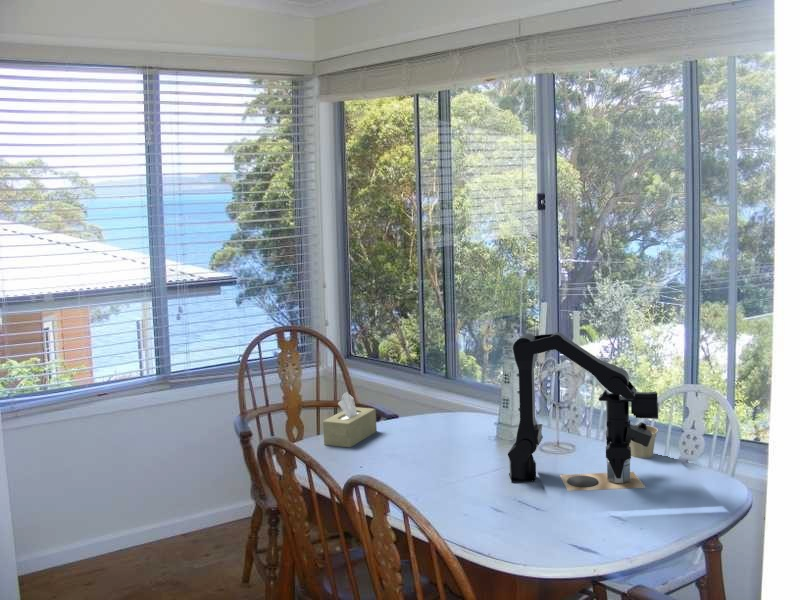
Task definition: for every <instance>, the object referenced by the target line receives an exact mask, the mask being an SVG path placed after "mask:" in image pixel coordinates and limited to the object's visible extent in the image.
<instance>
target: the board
mask: <svg viewBox="0 0 800 600" xmlns="http://www.w3.org/2000/svg"><path fill="white" fill-rule="evenodd" d="M559 477H560V478H561V481H562V482H563V484H564V486H565V488H566V489H567V492H577V491H579V492H580V491H600V490H602V491H603V490H604V491H605V490H622V489H623V490H624V489H643V488H644V489H645V488H646V486H645V484H644V483H643V482H642V481H641V479H640V478H639V477H638V475H636V473H635V472H634V471H630V481H629V482H625V483H614V482H611V481H608V480H607V472H597V473H595V472H594V473H579V474H578V473H577V474H576V473H574V474H572V473H571V474H559Z"/></svg>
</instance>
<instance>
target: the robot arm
mask: <svg viewBox="0 0 800 600" xmlns="http://www.w3.org/2000/svg"><path fill="white" fill-rule="evenodd" d="M512 350H513V356H514V361H515V364H516V367H517V370H518V390H519V391H518V394H519V395H518V397H519V401H518V402H519V424H518V428H517V432H516V438H515V443H513V445H512V446H511V448H510V450H509V451H508V453H507V456H508V459H509V473H508V476H509V479H510V481H511V483H525V482H527V483H528V482H536V477H537V463H536V461H535V459H534V456H533V454H534V453H535V452H536V451H537V448H538V447H539V445H540V444H541V442H542V440H543V439H544V436H543V434H542V430H543V424H542V423H540V424H539V423H537V419H536V397H535V396H536V395H535V365H536V361H537V357H538V354H542V353H545V352H549V351H557V352H558V353H560V354H561V355H563V356H564V357H566V358H567V359H569V360H570V361H572V362H573V363H575V364H576V365H578V366H580V367H581V368H583V370H586V371H587V372H588V373H590V374H591V375H593V376H594V378H595V379H597V381H598V382H599V384H600V385H602V386H603V387H604V388H605V390H603V392H602V393H601V394H599V397H598V401H600V402H602V401H603V402H605V404H606V406H605V407H606V431H605V439H606V446H605V459H607V458H608V460H609V463H610V465H611V467H612V469H613V471H614V474H615V476H616V478H621V475H622V470H623V466H624V462H625V460H627V459H630V460H631V459H632V456H631V447H630V446H629V445H630V443H631V440H632V441H634V442H636V443H639V444H642V445H643V446H645V447H648V445H649V443H650V440H651V437H652V432H651V431H650V430H647V427H646V425H647V423H644V422H643V421H641V422H639V423H638V424H634V425H635V426H634V425H633V424H631V420H630V412H631V414H632V415H633V417H634V416H635V419H655V420H658V419H659V410H660V409H659V402H658V401H659V398H658V392H657V391H650V392H645V391H643V392H641V391H639V392H638V391H637V389H636V387H635V386H634V385H633V384H632V382H631V381H630V377H629V373H628V372H627V371H626V369H624V368H621V367H620V366H617V365H616V364H612V363H610V362H607V361H603V360H601V359H599V357H596V356H595V355H593V354H592V353H590V351H587V350H586V349H584V348H582V347H581V346H580V345H578V344H577V343H575V342H574V341H572V340H571V339H569V338H567V336H565V335H564V334H563V333H561V332H558V331H556V332H554V333H549V334H547V333H546V334H538V335H534V334H533V335H532V334H531V333H530V334H529V333H524V334H522V335H521V336H519V337H518V339H516V341H514V343H513V346H512ZM630 404H631V405H630ZM630 409H631V411H630ZM636 425H637V426H636Z"/></svg>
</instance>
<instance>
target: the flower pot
mask: <svg viewBox="0 0 800 600" xmlns="http://www.w3.org/2000/svg"><path fill="white" fill-rule="evenodd" d="M635 425H636V426H637V425H638V424H634V426H635ZM646 427H647V430H650V431H651V432H652V437H651V440H650V443H649V445H648V447H645V446H643V445H642V444H639V443H636V442H634V441H632V440H631V443H630V445H629V446H630V447H631V457H633V458H638V459H648V458H652V457H653V456H654V455H653V454H654V448H655V442H656V438H657V434H658V433H659V429H658V428H657V427H655V426H651V425H647V424H646Z"/></svg>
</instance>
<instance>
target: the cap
mask: <svg viewBox="0 0 800 600" xmlns="http://www.w3.org/2000/svg"><path fill="white" fill-rule="evenodd" d="M606 470H607V471H606V473H607V480H608V481H611V482H614V483H625V482H629V481H630V472H631V459H627V460H625V462H624V466H623V470H622V475H621V478H616V476H615V474H614V471H613V469H612V467H611V465H610V463H609V460H608V458H606Z"/></svg>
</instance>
